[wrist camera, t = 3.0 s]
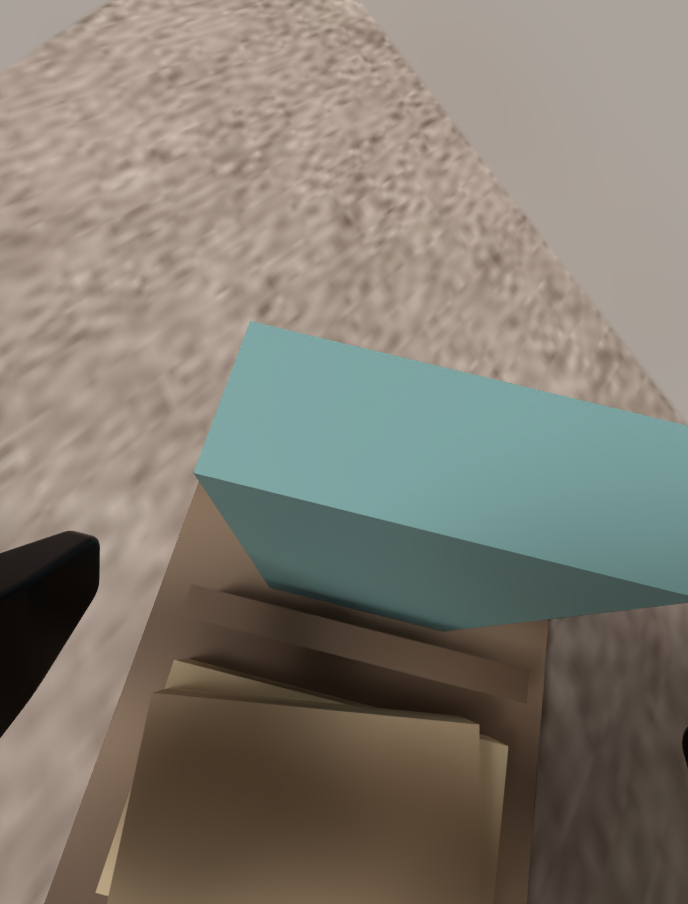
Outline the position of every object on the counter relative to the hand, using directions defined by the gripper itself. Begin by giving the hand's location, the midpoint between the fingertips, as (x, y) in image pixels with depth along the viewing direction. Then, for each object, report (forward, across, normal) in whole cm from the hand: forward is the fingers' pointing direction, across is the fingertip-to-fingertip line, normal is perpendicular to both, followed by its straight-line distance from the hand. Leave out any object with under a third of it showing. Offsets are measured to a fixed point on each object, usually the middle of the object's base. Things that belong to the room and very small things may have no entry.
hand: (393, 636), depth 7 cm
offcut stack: (+3, 0, +9) cm, 9 cm away
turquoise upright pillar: (+7, 0, +5) cm, 9 cm away
